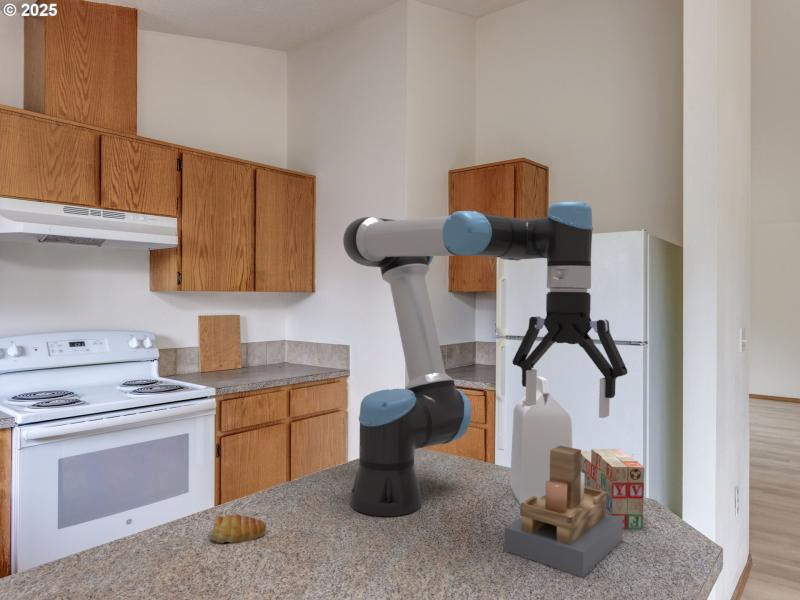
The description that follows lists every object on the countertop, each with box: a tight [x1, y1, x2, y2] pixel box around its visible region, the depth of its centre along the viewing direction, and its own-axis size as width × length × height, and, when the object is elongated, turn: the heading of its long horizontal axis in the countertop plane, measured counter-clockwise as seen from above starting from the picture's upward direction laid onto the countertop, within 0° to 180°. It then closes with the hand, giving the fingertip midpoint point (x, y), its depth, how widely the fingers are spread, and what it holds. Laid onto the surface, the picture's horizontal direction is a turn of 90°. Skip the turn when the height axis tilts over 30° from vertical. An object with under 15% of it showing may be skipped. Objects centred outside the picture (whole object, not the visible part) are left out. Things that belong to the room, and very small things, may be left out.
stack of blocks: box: [581, 448, 646, 530], centre depth 118 cm, size 21×6×12 cm, turn 179°
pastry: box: [210, 513, 267, 544], centre depth 103 cm, size 9×7×4 cm
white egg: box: [580, 472, 585, 501], centre depth 103 cm, size 4×4×4 cm
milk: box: [509, 375, 573, 505], centre depth 126 cm, size 12×12×26 cm
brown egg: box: [545, 480, 567, 514], centre depth 97 cm, size 4×4×4 cm
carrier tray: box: [519, 446, 607, 545], centre depth 100 cm, size 16×9×13 cm, turn 140°
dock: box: [503, 514, 624, 578], centre depth 100 cm, size 14×18×4 cm
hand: (565, 410), depth 100 cm, fingers open, 13 cm apart
